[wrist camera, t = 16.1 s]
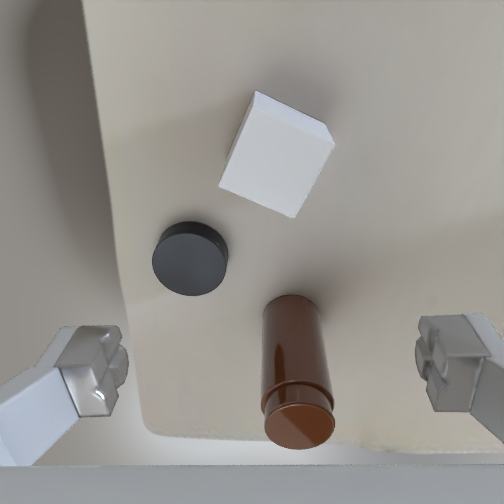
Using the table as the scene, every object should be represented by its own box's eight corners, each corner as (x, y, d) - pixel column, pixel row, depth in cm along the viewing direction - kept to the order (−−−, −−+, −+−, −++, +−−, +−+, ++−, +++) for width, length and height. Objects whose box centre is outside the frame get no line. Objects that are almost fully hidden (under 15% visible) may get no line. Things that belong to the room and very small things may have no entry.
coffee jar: (331, 314, 42) (354, 424, 31) (294, 347, 45) (303, 461, 33) (286, 284, 41) (293, 390, 29) (251, 321, 43) (245, 431, 32)
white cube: (255, 90, 32) (253, 105, 27) (324, 123, 33) (335, 144, 28) (225, 160, 35) (217, 186, 29) (290, 189, 36) (294, 219, 30)
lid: (145, 234, 38) (138, 246, 36) (210, 211, 37) (207, 223, 35) (177, 289, 41) (172, 304, 39) (238, 270, 40) (237, 284, 38)
